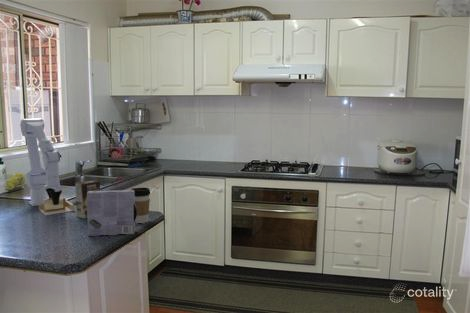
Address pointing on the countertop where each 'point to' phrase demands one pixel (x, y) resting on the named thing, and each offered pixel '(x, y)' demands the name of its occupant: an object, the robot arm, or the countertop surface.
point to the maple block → (49, 205)
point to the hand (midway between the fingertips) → (54, 203)
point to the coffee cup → (142, 204)
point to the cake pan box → (111, 212)
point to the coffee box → (84, 195)
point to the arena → (55, 211)
